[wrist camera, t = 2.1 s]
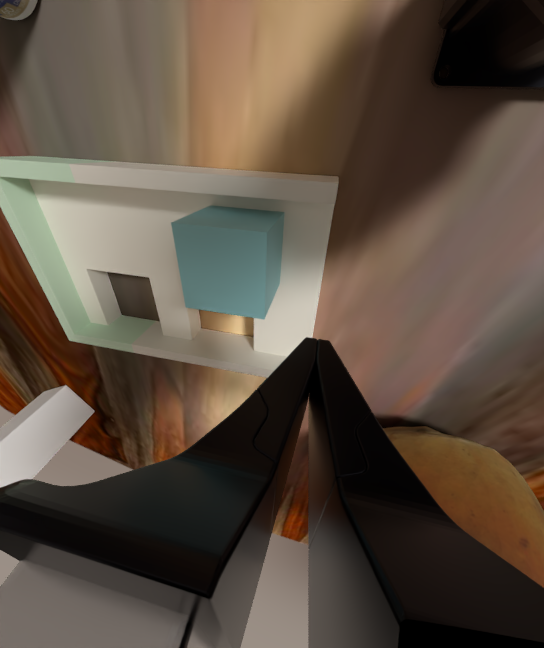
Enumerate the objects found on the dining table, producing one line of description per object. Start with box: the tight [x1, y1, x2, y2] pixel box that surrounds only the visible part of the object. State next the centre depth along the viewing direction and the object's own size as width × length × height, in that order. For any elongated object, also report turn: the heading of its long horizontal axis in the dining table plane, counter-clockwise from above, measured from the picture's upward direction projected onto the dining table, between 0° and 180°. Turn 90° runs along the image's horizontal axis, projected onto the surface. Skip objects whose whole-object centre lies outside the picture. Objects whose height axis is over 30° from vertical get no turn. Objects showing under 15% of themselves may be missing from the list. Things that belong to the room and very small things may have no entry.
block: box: [171, 205, 285, 319], centre depth 16 cm, size 5×5×5 cm
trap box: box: [0, 156, 339, 378], centre depth 21 cm, size 23×15×4 cm, turn 87°
